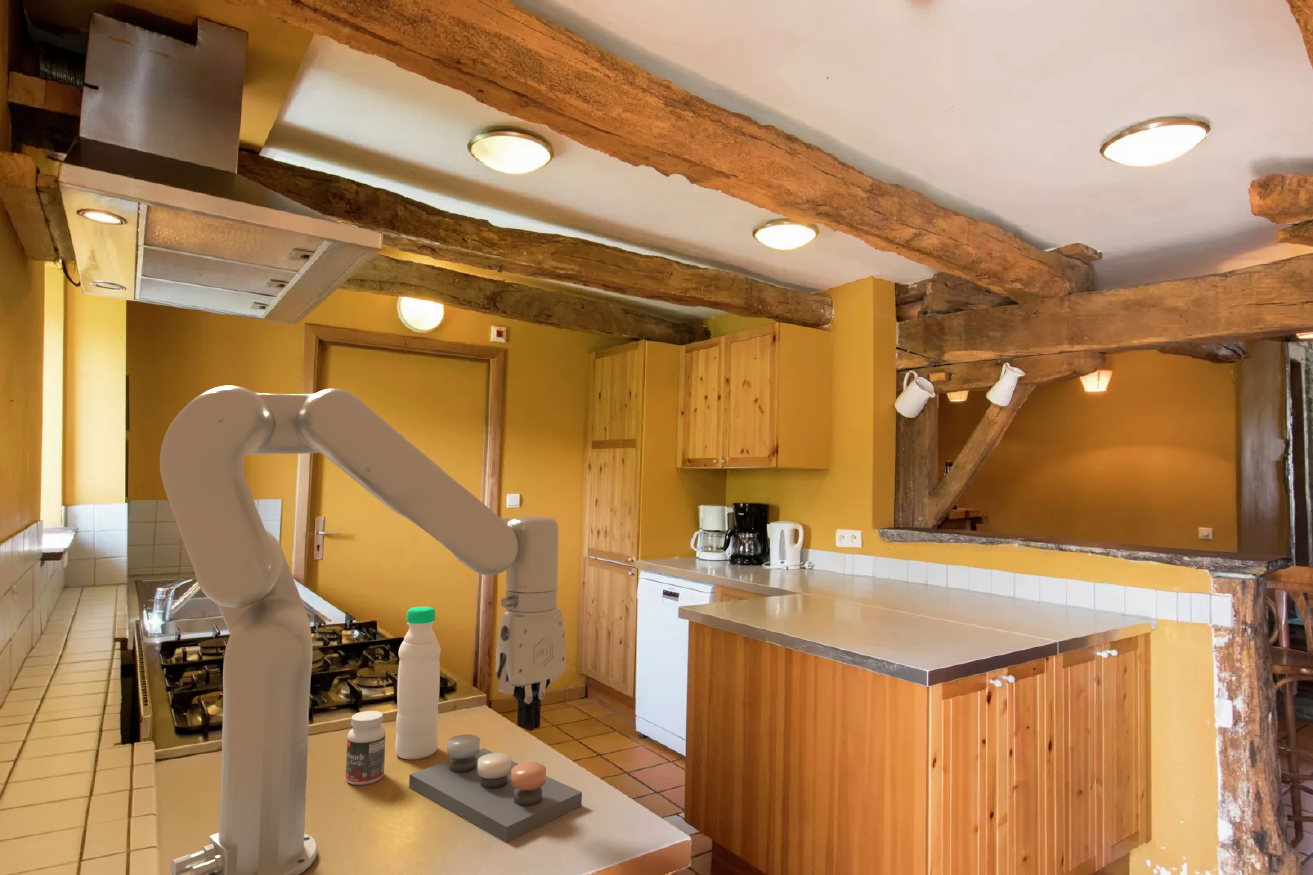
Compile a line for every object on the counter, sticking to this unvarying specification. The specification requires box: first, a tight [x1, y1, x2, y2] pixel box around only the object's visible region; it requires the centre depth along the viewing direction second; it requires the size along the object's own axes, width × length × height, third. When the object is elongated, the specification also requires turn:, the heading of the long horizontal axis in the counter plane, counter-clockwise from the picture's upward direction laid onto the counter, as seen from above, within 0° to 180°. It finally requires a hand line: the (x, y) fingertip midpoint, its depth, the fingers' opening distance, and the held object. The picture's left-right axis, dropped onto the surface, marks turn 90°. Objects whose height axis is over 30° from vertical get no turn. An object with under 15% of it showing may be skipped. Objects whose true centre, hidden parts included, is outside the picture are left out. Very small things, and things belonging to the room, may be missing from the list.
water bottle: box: [394, 606, 442, 760], centre depth 126 cm, size 7×7×25 cm
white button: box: [477, 752, 512, 779], centre depth 110 cm, size 5×5×2 cm
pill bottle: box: [345, 710, 386, 786], centre depth 115 cm, size 6×6×10 cm
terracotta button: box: [511, 762, 547, 790], centre depth 105 cm, size 5×5×2 cm
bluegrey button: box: [446, 734, 481, 758], centre depth 115 cm, size 5×5×2 cm
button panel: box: [408, 747, 583, 843], centre depth 110 cm, size 14×24×3 cm, turn 50°
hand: (528, 726), depth 105 cm, fingers closed
